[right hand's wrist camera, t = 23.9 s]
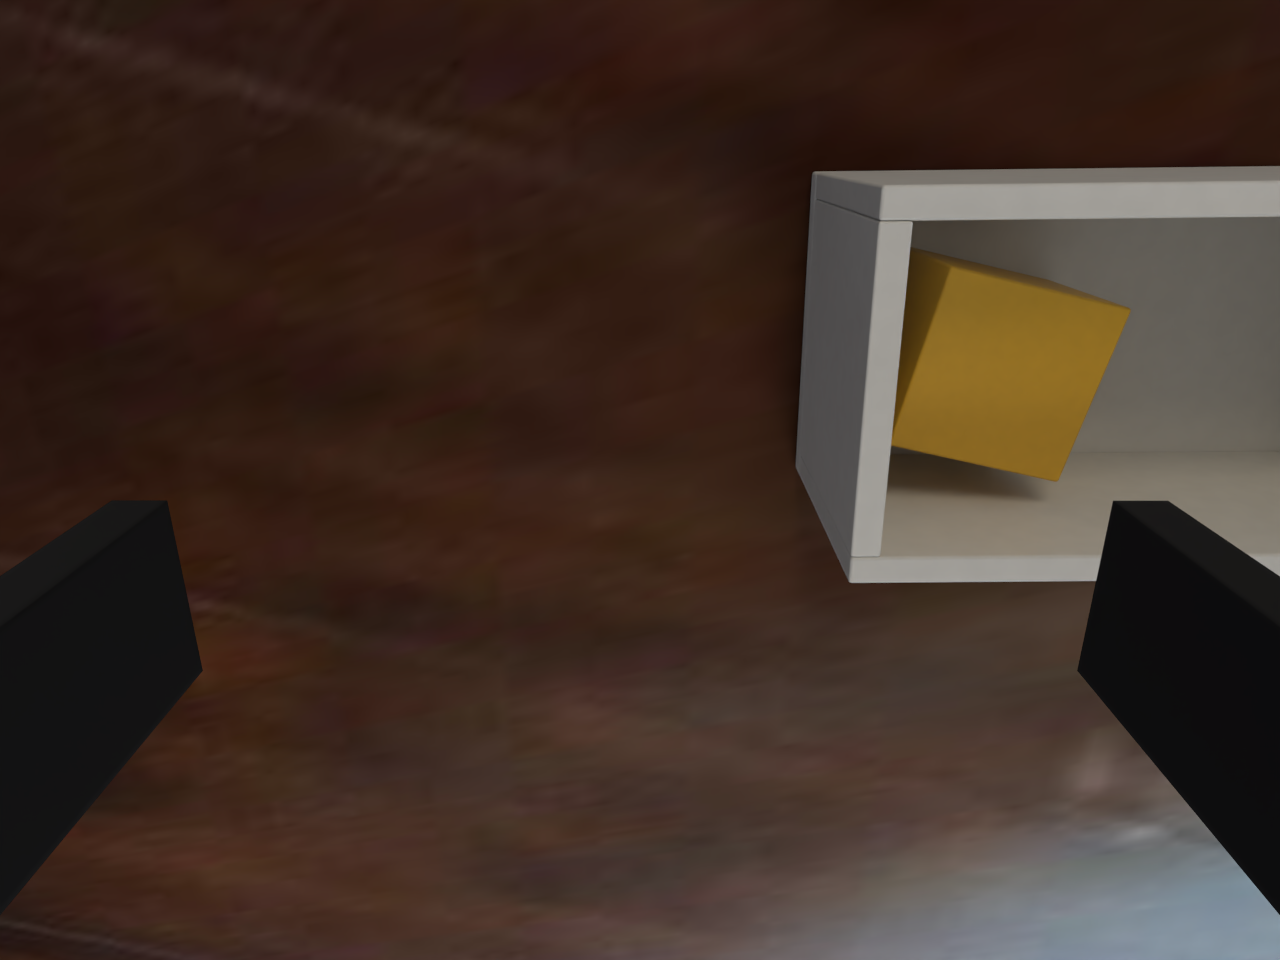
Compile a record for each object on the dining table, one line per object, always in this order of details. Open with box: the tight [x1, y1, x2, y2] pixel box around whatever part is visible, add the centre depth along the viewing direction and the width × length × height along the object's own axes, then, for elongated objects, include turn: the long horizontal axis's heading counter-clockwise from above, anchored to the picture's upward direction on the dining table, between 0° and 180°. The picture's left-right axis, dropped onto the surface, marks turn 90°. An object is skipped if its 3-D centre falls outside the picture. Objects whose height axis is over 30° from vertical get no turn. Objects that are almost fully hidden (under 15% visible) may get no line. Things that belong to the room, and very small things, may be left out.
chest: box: [796, 166, 1280, 583], centre depth 25 cm, size 17×10×9 cm, turn 91°
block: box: [891, 247, 1131, 482], centre depth 26 cm, size 5×5×5 cm
